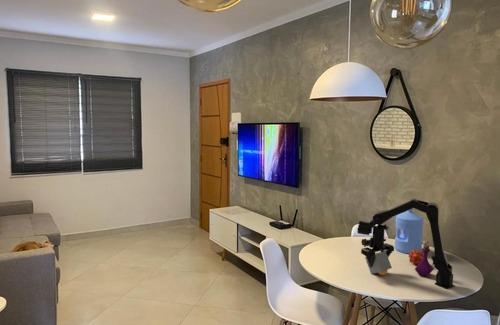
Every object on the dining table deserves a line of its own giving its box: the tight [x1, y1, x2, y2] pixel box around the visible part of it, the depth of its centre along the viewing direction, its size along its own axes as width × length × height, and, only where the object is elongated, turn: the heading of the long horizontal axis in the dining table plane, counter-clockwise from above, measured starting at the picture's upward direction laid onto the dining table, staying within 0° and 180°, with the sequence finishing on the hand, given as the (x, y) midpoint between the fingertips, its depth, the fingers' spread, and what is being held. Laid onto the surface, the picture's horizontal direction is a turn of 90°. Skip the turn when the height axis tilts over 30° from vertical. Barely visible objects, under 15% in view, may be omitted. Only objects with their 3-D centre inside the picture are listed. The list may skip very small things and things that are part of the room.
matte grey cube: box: [364, 251, 393, 275], centre depth 196 cm, size 8×8×9 cm
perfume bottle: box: [414, 240, 435, 277], centre depth 194 cm, size 8×8×18 cm
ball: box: [377, 270, 388, 276], centre depth 194 cm, size 5×5×5 cm
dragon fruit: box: [408, 250, 424, 267], centre depth 209 cm, size 8×8×12 cm
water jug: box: [394, 208, 424, 255], centre depth 231 cm, size 16×16×28 cm
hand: (376, 265), depth 197 cm, fingers open, 9 cm apart
